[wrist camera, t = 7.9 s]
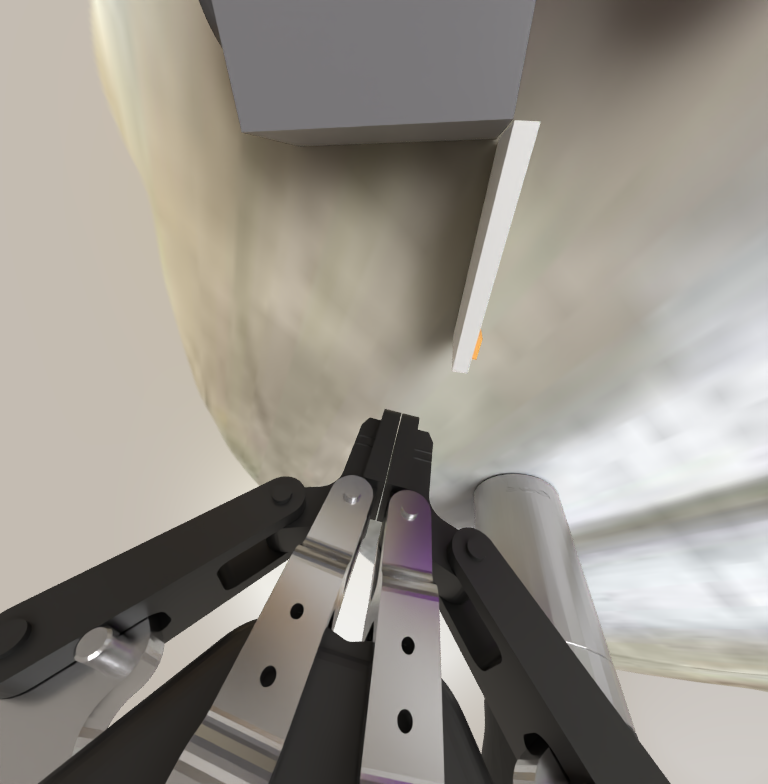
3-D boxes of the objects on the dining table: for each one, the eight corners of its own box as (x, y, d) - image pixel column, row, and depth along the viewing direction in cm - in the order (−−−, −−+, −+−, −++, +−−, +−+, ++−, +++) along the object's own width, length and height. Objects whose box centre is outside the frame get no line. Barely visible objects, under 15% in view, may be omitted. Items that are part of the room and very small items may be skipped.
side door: (529, 139, 15) (556, 122, 11) (473, 339, 23) (476, 375, 18) (498, 138, 15) (514, 120, 11) (453, 336, 23) (452, 371, 18)
